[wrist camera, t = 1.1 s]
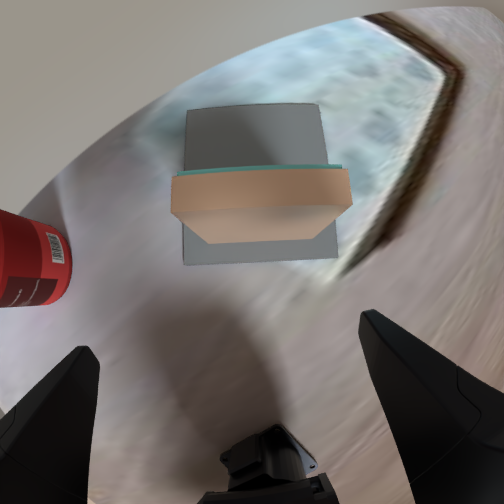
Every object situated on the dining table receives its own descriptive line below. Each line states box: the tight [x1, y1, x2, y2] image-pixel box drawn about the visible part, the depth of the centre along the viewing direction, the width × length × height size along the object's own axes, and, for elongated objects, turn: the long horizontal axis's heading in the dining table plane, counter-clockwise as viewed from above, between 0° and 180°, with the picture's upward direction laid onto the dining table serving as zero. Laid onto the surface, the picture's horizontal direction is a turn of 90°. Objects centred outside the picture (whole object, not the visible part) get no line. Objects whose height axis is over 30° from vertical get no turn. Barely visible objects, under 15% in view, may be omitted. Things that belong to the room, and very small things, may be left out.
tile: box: [171, 164, 353, 244], centre depth 17 cm, size 2×8×10 cm, turn 93°
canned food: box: [0, 209, 72, 308], centre depth 17 cm, size 8×8×11 cm
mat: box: [184, 104, 338, 265], centre depth 23 cm, size 14×12×1 cm
